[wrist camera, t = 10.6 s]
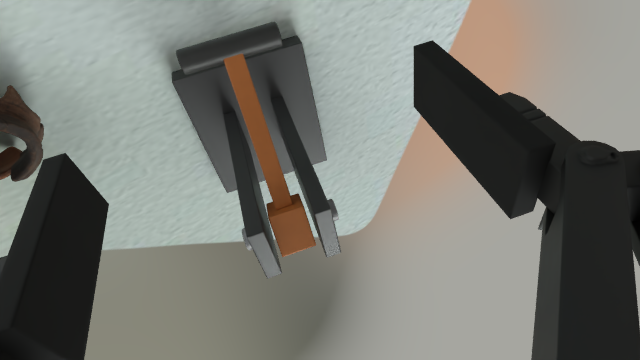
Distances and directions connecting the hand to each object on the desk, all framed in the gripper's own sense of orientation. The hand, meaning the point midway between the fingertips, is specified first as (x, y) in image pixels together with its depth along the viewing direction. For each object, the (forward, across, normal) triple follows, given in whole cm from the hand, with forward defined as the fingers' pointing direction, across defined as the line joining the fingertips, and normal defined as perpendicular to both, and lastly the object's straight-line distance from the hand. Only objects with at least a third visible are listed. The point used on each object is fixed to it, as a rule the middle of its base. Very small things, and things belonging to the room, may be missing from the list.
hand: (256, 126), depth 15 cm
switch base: (+17, 0, -11) cm, 20 cm away
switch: (+7, 0, -6) cm, 9 cm away
